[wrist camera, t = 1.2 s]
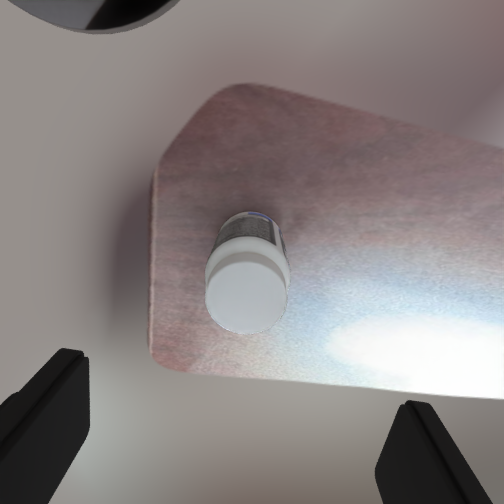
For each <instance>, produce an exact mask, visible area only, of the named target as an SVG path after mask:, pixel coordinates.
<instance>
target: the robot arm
mask: <svg viewBox="0 0 504 504" xmlns="http://www.w3.org/2000/svg"><path fill="white" fill-rule="evenodd" d="M89 396H90V392H89V358H88V357H84V353H83V351H79V350H72V349H66V348H61V349H60V350H58V351H57V352H56V353H55V354H54V355H53V356H52V357H51V359H50V360H49V361H48V362H47V363H46V364H45V365H44V366H43V367H42V368H41V369H40V370H39V371H38V372H37V373H36V374H35V375H34V377H32V378H31V379H30V380H29V382H28V383H27V384H26V385H25V386H24V387H23V388H22V389H21V390H20V391H19V392H16V393H14V394H12V395H11V396H9V397H8V398H7V399H6V400H5V401H4V402H3V403H2V404H1V405H0V504H48V503H49V501H50V499H51V498H52V496H53V494H54V492H55V491H56V489H57V487H58V486H59V484H60V482H61V480H62V479H63V477H64V475H65V474H66V472H67V470H68V468H69V467H70V465H71V463H72V461H73V460H74V458H75V457H76V455H77V453H78V451H79V450H80V448H81V446H82V444H83V443H84V441H85V439H86V437H87V435H88V432H89V428H90V397H89ZM375 479H376V483H377V486H378V489H379V492H380V495H381V498H382V501H383V504H493V503H492V502H491V500H490V498H489V497H488V495H487V494H486V492H485V490H484V489H483V487H482V486H481V484H480V483H479V481H478V479H477V478H476V476H475V474H474V473H473V471H472V470H471V468H470V466H469V465H468V464H467V462H466V460H465V458H464V457H463V455H462V454H461V452H460V450H459V449H458V447H457V446H456V444H455V443H454V441H453V439H452V438H451V436H450V434H449V433H448V431H447V430H446V428H445V426H444V425H443V423H442V422H441V420H440V418H439V417H438V415H437V414H436V412H435V411H434V409H433V407H432V406H431V405H430V404H429V403H425V402H419V401H412V400H408V401H406V403H405V404H402V405H400V407H399V409H398V411H397V414H396V416H395V419H394V422H393V424H392V427H391V429H390V432H389V434H388V437H387V439H386V442H385V444H384V447H383V449H382V452H381V454H380V457H379V459H378V462H377V465H376V467H375Z"/></svg>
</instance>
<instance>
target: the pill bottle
mask: <svg viewBox="0 0 504 504" xmlns="http://www.w3.org/2000/svg"><path fill="white" fill-rule="evenodd" d="M290 280H291V274H290V267H289V262H288V258H287V254H286V249H285V245H284V240H283V236H282V233H281V231H280V229H279V227H278V226H277V224H276V223H275V222H274V221H273V220H272V219H271V218H269V217H268V216H266V215H264V214H261V213H258V212H242V213H239V214H236V215H234V216H233V217H231V218H230V219H228V220H227V221H226V222H225V223H224V224H223V226H222V227H221V229H220V231H219V233H218V236H217V239H216V241H215V244H214V246H213V249H212V252H211V254H210V257H209V258H208V261H207V264H206V268H205V283H206V291H205V303H206V307H207V310H208V312H209V314H210V316H211V317H212V318H213V320H214V321H215V322H216V323H217V324H218V325H220V326H221V327H222V328H224V329H226V330H228V331H231V332H234V333H237V334H255V333H260V332H263V331H265V330H267V329H269V328H271V327H272V326H273V325H275V324H276V323H277V322H278V321H279V320H280V318H281V317H282V315H283V313H284V311H285V309H286V305H287V292H288V290H289V287H290Z"/></svg>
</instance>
